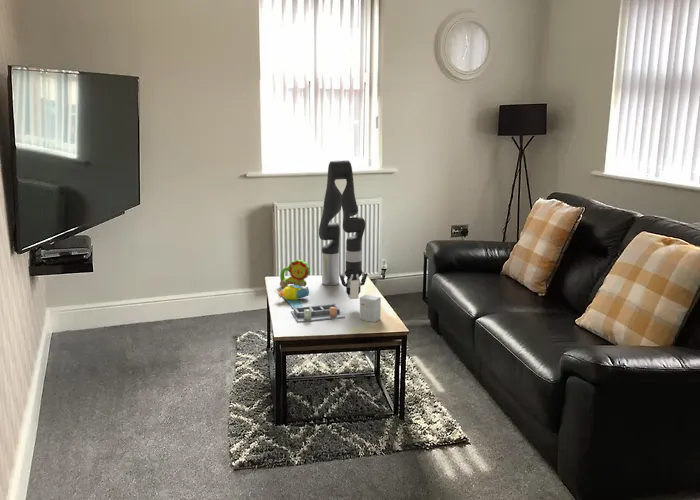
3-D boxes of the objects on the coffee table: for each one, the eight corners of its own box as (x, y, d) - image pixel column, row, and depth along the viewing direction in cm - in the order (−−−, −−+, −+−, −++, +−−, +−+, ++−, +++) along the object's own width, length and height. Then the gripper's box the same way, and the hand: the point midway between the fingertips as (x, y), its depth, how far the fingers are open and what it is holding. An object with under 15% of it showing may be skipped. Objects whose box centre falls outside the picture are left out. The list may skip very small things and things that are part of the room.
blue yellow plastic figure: (271, 278, 318) (299, 276, 324) (271, 294, 320) (299, 292, 326) (286, 293, 293) (317, 291, 298) (286, 311, 295) (316, 308, 300)
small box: (380, 319, 284) (381, 297, 282) (374, 322, 279) (375, 300, 277) (365, 315, 288) (365, 294, 286) (359, 319, 283) (359, 297, 281)
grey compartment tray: (291, 312, 292) (290, 302, 291) (336, 307, 299) (336, 298, 298) (297, 322, 279) (297, 312, 278) (344, 317, 285) (344, 308, 284)
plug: (347, 296, 298) (348, 278, 296) (355, 295, 299) (356, 277, 297) (350, 299, 294) (350, 281, 292) (358, 298, 295) (358, 280, 293)
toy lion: (279, 287, 330) (278, 259, 327) (282, 284, 336) (282, 257, 332) (307, 289, 327) (307, 261, 323) (311, 286, 332) (310, 259, 328)
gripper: (365, 256, 298) (364, 290, 302) (336, 258, 293) (336, 293, 298) (370, 260, 291) (369, 295, 295) (341, 262, 286) (341, 297, 291)
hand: (353, 293), depth 296 cm, fingers closed on plug, 4 cm apart
